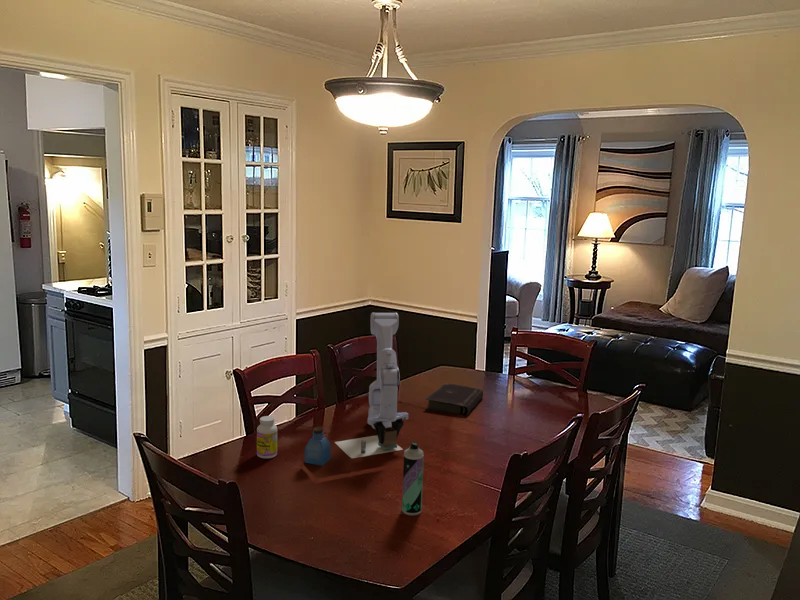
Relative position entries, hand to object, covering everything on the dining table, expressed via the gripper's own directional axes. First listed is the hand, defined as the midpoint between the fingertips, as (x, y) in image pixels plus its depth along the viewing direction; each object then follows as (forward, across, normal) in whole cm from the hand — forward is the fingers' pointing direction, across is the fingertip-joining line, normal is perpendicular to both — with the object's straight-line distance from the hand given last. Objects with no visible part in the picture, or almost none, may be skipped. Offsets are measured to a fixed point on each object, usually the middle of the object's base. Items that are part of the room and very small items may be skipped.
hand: (387, 441), depth 230 cm
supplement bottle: (+4, -38, +13) cm, 40 cm away
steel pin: (+2, -9, 0) cm, 9 cm away
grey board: (+4, -5, +4) cm, 8 cm away
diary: (+4, +48, +34) cm, 59 cm away
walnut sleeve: (+2, 0, 0) cm, 2 cm away
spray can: (+4, -12, -40) cm, 42 cm away
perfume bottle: (+4, -25, 0) cm, 25 cm away
